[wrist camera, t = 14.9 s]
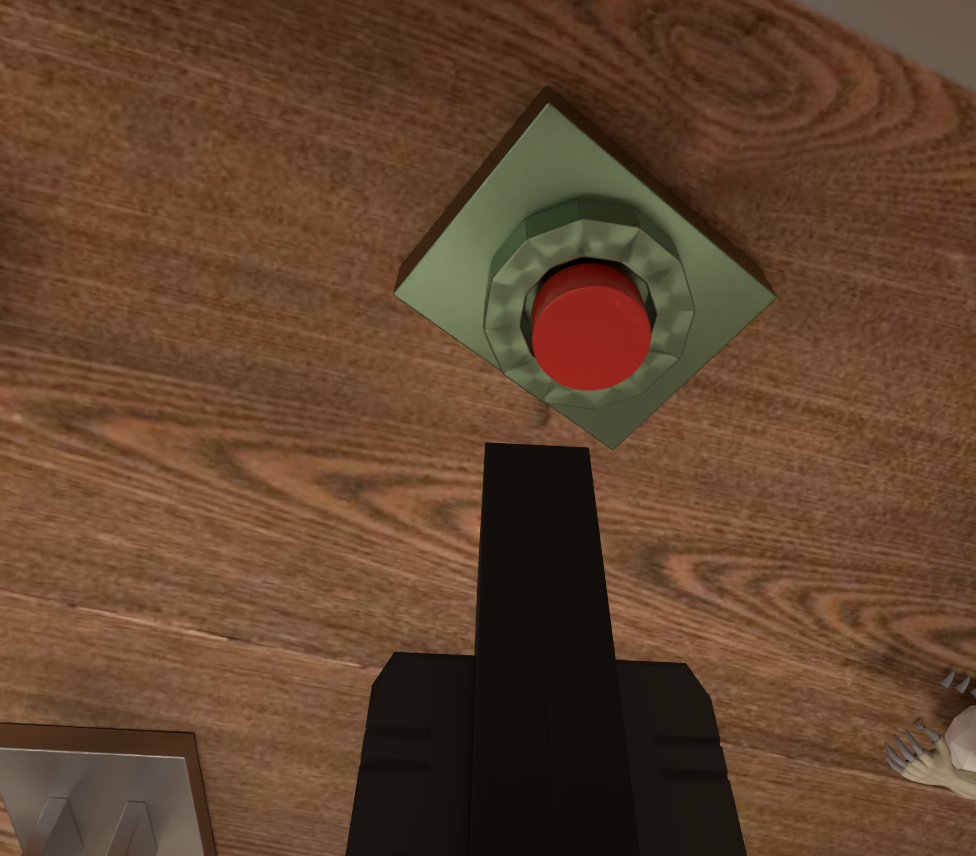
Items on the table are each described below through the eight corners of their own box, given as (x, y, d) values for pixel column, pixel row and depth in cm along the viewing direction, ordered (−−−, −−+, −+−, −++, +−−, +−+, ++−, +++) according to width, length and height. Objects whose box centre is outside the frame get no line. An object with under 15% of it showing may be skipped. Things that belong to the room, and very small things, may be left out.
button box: (398, 268, 32) (385, 318, 29) (546, 84, 29) (550, 117, 25) (607, 419, 35) (618, 480, 32) (762, 270, 32) (792, 322, 29)
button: (508, 322, 29) (507, 348, 28) (583, 239, 28) (587, 262, 26) (591, 383, 30) (595, 411, 29) (667, 307, 29) (676, 332, 27)
